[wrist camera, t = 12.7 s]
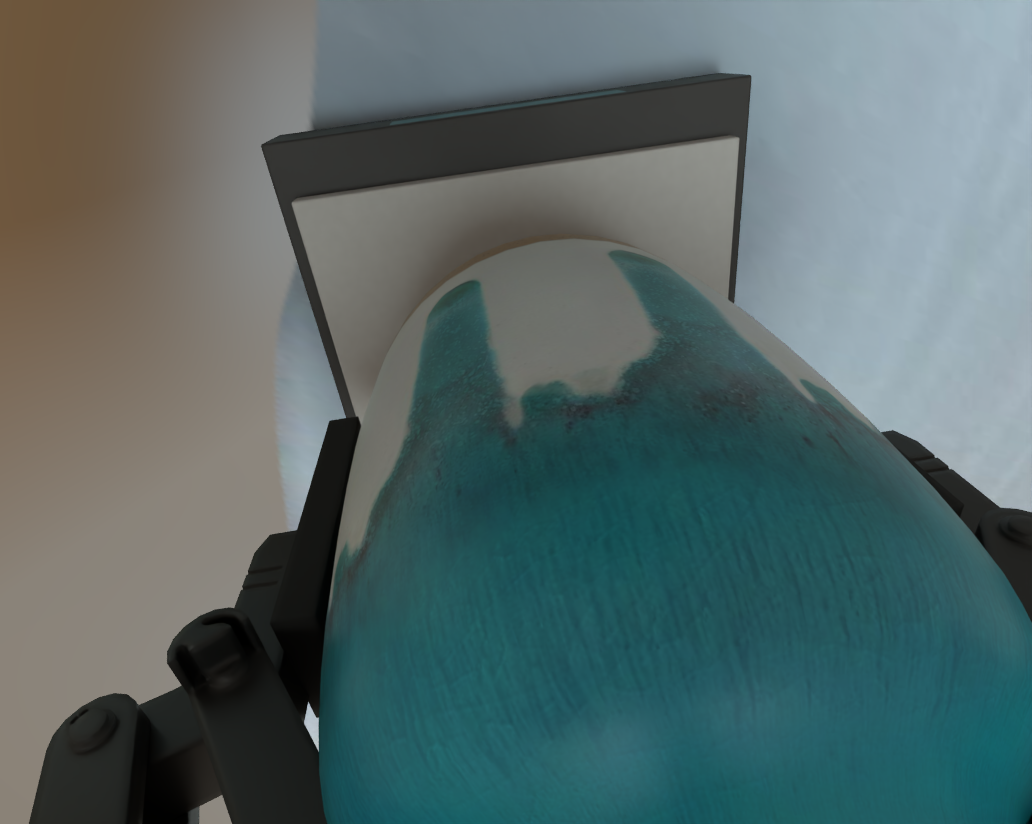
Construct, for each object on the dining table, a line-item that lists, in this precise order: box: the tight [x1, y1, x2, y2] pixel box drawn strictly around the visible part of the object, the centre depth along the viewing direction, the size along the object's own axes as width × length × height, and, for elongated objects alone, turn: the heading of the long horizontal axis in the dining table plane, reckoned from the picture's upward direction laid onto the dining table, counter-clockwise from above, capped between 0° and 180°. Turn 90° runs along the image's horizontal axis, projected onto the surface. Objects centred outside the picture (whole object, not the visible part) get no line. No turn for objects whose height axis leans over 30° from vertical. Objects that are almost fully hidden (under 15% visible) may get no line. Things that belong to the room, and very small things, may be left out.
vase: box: [319, 234, 1032, 824], centre depth 12 cm, size 11×11×19 cm
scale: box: [261, 73, 751, 425], centre depth 21 cm, size 15×14×3 cm
